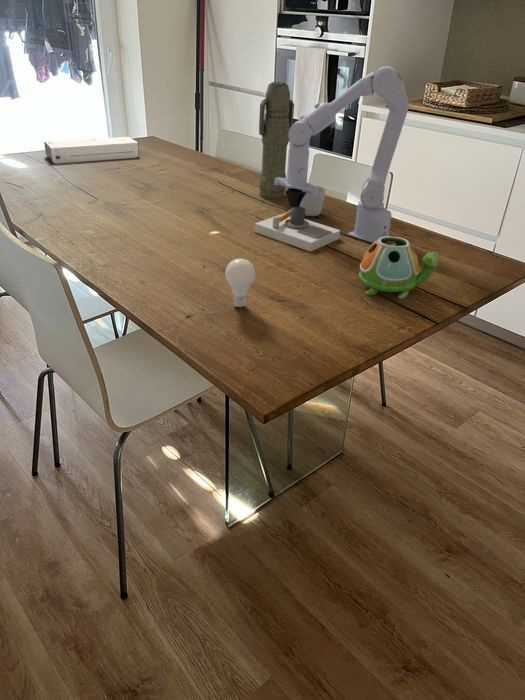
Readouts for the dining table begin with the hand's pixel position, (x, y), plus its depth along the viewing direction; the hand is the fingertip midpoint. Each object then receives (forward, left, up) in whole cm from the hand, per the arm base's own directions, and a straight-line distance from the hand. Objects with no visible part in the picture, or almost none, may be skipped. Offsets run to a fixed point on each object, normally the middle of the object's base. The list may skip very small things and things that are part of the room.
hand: (294, 214), depth 164 cm
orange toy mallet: (0, +4, -1) cm, 4 cm away
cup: (+5, -13, -4) cm, 15 cm away
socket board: (-5, +5, -4) cm, 8 cm away
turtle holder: (-42, +16, -4) cm, 45 cm away
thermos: (+24, -19, -4) cm, 31 cm away
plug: (-4, +4, -4) cm, 7 cm away
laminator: (+103, -3, -5) cm, 104 cm away
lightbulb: (-23, +49, -4) cm, 54 cm away
